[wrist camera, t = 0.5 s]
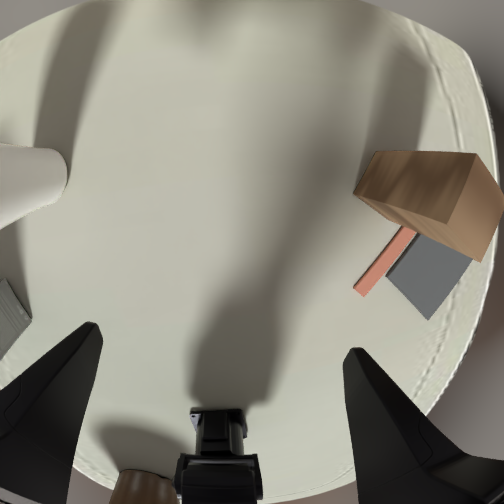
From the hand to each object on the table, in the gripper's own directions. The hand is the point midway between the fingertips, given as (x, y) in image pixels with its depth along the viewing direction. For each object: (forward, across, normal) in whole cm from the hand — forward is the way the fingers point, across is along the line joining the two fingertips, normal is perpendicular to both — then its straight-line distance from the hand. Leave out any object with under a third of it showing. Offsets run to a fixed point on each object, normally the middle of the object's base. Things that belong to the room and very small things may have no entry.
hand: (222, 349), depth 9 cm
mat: (+16, -23, +4) cm, 28 cm away
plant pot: (+2, +13, +52) cm, 53 cm away
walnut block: (+17, -13, -2) cm, 21 cm away
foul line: (+16, -17, +1) cm, 24 cm away
